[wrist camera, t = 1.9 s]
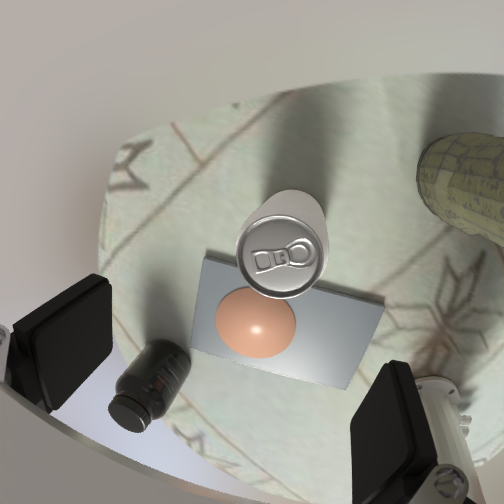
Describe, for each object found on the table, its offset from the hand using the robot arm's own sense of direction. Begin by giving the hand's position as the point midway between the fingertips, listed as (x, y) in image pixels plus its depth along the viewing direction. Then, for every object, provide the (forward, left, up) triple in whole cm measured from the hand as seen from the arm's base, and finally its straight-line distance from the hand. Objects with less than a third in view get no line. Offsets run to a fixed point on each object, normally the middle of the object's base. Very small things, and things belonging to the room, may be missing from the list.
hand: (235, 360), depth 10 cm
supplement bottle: (+11, +22, -23) cm, 34 cm away
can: (0, 0, -23) cm, 23 cm away
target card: (-2, +12, -23) cm, 26 cm away
